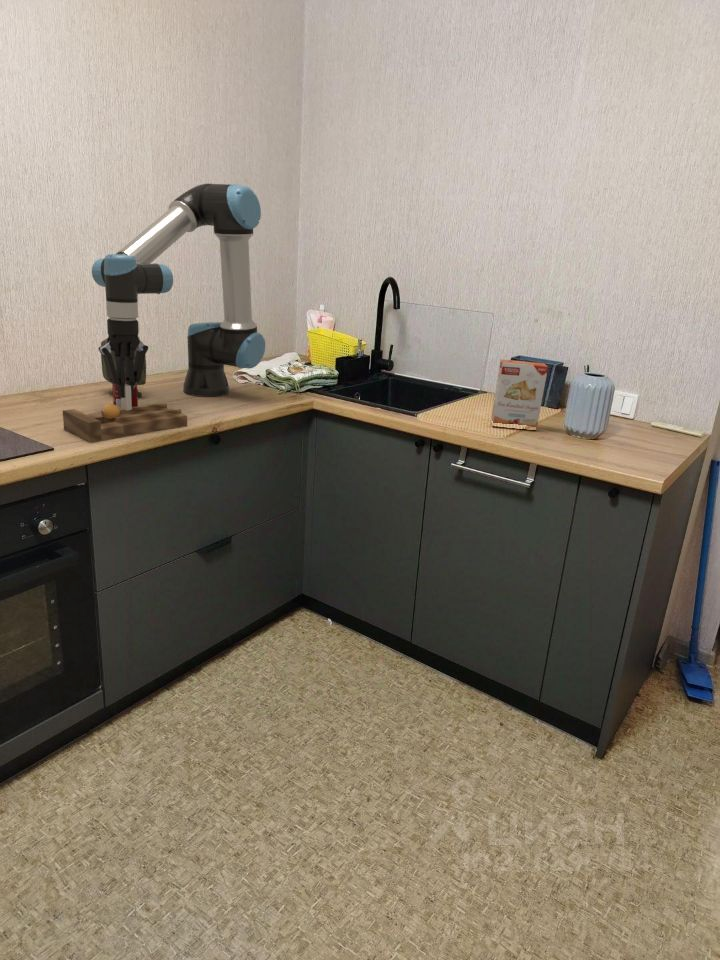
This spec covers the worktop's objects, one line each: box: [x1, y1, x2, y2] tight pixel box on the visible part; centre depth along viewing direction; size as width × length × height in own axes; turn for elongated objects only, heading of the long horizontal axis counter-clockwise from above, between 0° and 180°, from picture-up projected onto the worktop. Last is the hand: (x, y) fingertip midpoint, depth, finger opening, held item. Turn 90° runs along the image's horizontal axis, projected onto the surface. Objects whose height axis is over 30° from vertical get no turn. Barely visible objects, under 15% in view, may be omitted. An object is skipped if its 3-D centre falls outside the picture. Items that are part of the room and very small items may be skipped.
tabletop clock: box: [100, 337, 147, 398], centre depth 205 cm, size 14×9×25 cm, turn 40°
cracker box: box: [490, 359, 549, 428], centre depth 204 cm, size 14×6×21 cm, turn 86°
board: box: [62, 402, 188, 443], centre depth 174 cm, size 28×14×5 cm, turn 138°
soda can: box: [111, 368, 139, 409], centre depth 190 cm, size 7×7×12 cm
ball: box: [102, 403, 120, 419], centre depth 170 cm, size 4×4×4 cm
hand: (126, 409), depth 173 cm, fingers closed
